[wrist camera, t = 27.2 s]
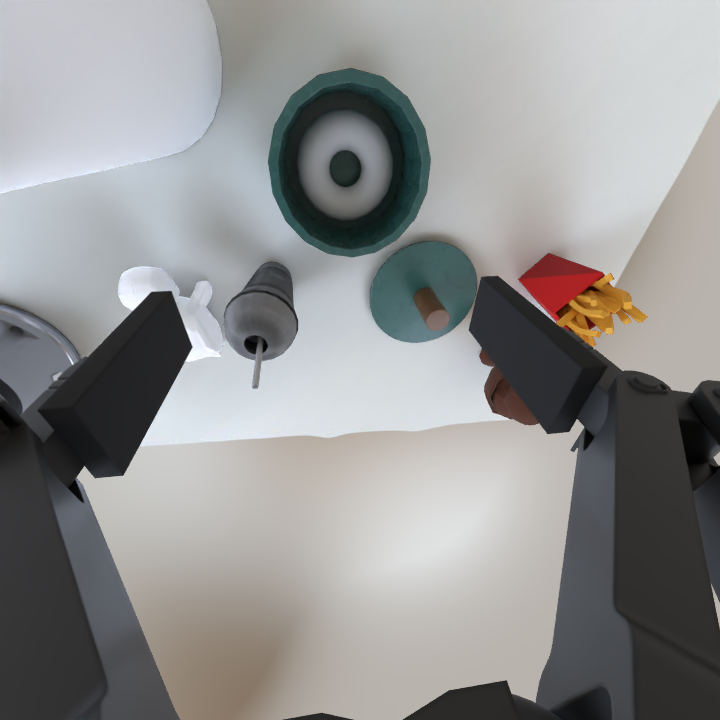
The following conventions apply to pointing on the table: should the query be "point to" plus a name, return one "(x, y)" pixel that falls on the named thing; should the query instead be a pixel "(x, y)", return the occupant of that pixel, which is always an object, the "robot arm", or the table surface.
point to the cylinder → (102, 84)
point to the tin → (351, 162)
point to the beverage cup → (262, 317)
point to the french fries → (578, 297)
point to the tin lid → (423, 291)
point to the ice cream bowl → (504, 396)
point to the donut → (337, 135)
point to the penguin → (192, 310)
